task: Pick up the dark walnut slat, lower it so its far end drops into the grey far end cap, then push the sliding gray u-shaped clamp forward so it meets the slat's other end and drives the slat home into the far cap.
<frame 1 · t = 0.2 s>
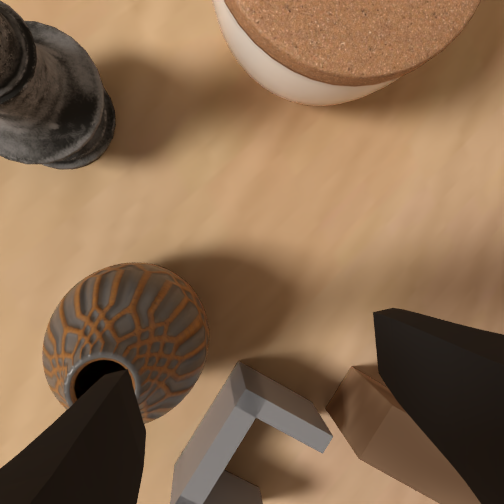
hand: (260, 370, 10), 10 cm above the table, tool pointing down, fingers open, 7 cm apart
slat: (425, 437, 23), on the table
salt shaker: (63, 118, 19), on the table
lidded jar: (299, 34, 20), on the table
vase: (145, 317, 20), on the table
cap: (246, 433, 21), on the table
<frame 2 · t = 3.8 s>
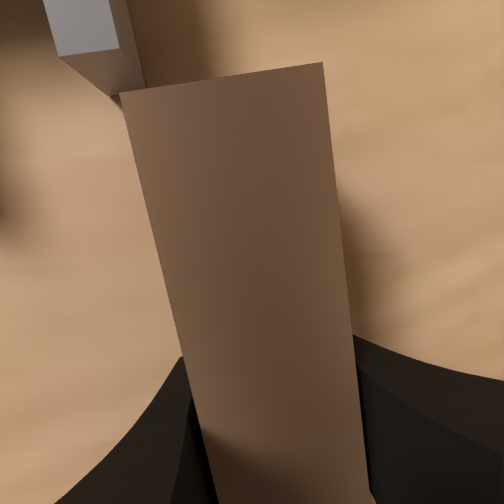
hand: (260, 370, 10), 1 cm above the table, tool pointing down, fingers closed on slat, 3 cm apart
slat: (252, 344, 12), on the table, touching gripper
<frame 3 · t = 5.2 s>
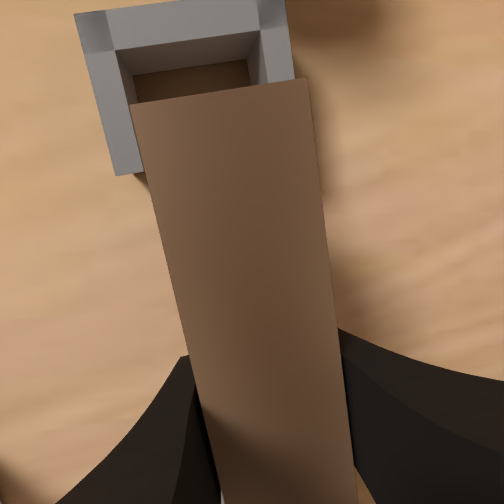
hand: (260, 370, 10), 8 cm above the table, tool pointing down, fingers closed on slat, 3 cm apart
slat: (248, 334, 13), point 6 cm above the table, touching gripper
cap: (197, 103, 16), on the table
when the fingers open (2 cm above the table, at t = 6.6 s): slat stays where it is, on the table.
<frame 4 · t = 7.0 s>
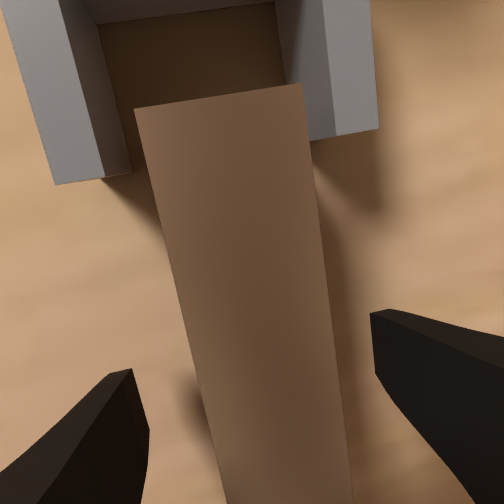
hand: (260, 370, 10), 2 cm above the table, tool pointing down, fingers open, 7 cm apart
slat: (247, 330, 13), on the table
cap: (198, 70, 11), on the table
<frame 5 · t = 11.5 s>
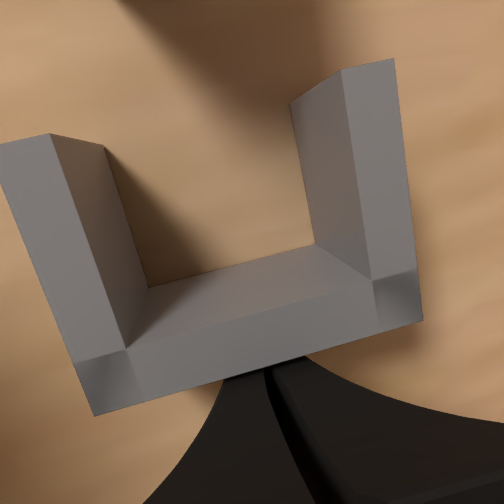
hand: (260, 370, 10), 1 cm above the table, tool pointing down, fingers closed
gray u-shaped clamp: (227, 230, 9), point 2 cm above the table, slide at 0.0 cm, touching gripper
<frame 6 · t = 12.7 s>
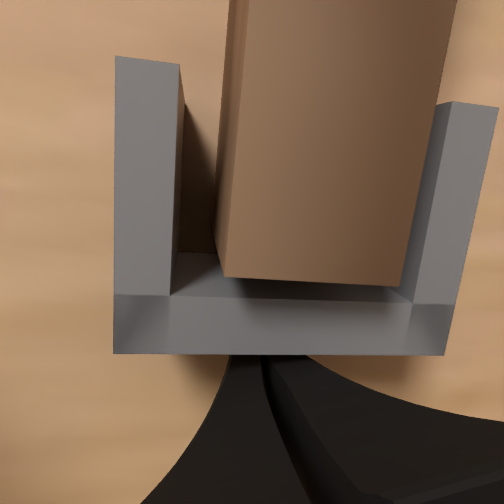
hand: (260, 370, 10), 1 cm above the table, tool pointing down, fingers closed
gray u-shaped clamp: (284, 217, 9), point 2 cm above the table, slide at 7.1 cm, touching gripper
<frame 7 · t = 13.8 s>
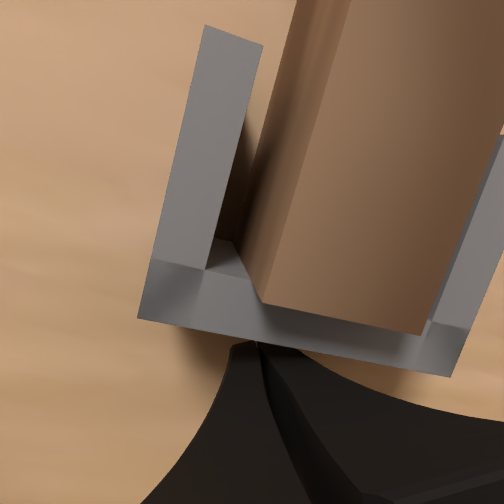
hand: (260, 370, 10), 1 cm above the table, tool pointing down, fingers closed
gray u-shaped clamp: (318, 217, 9), point 2 cm above the table, slide at 10.6 cm, touching gripper, slat
slat: (353, 3, 10), on the table, touching gray u-shaped clamp
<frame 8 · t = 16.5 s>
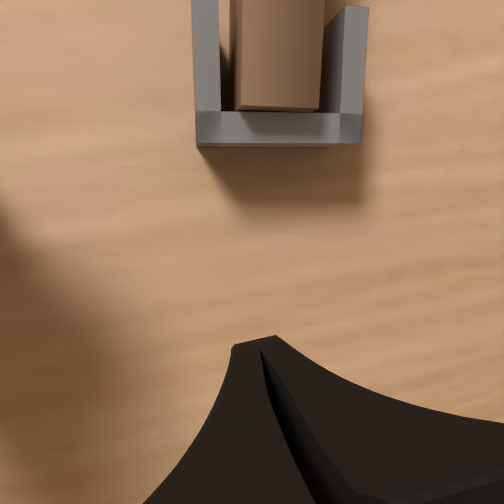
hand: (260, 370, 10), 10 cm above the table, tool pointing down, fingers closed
gray u-shaped clamp: (273, 84, 16), point 2 cm above the table, slide at 10.6 cm
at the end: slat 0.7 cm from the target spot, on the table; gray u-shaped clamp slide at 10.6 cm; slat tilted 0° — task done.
